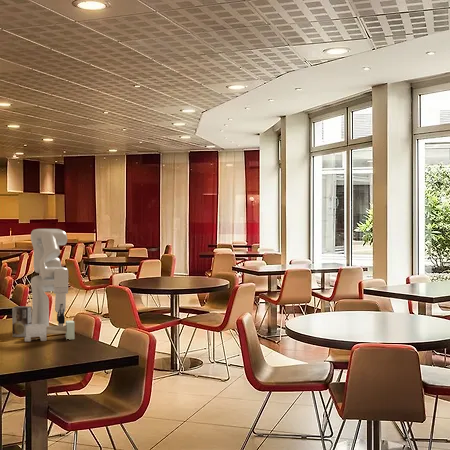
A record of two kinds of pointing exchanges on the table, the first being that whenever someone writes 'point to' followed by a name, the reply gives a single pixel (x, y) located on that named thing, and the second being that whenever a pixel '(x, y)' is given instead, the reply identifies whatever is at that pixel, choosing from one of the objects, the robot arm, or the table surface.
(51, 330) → the inner bar
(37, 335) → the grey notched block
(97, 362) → the table surface
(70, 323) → the socket block
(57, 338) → the table surface
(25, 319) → the coffee box
